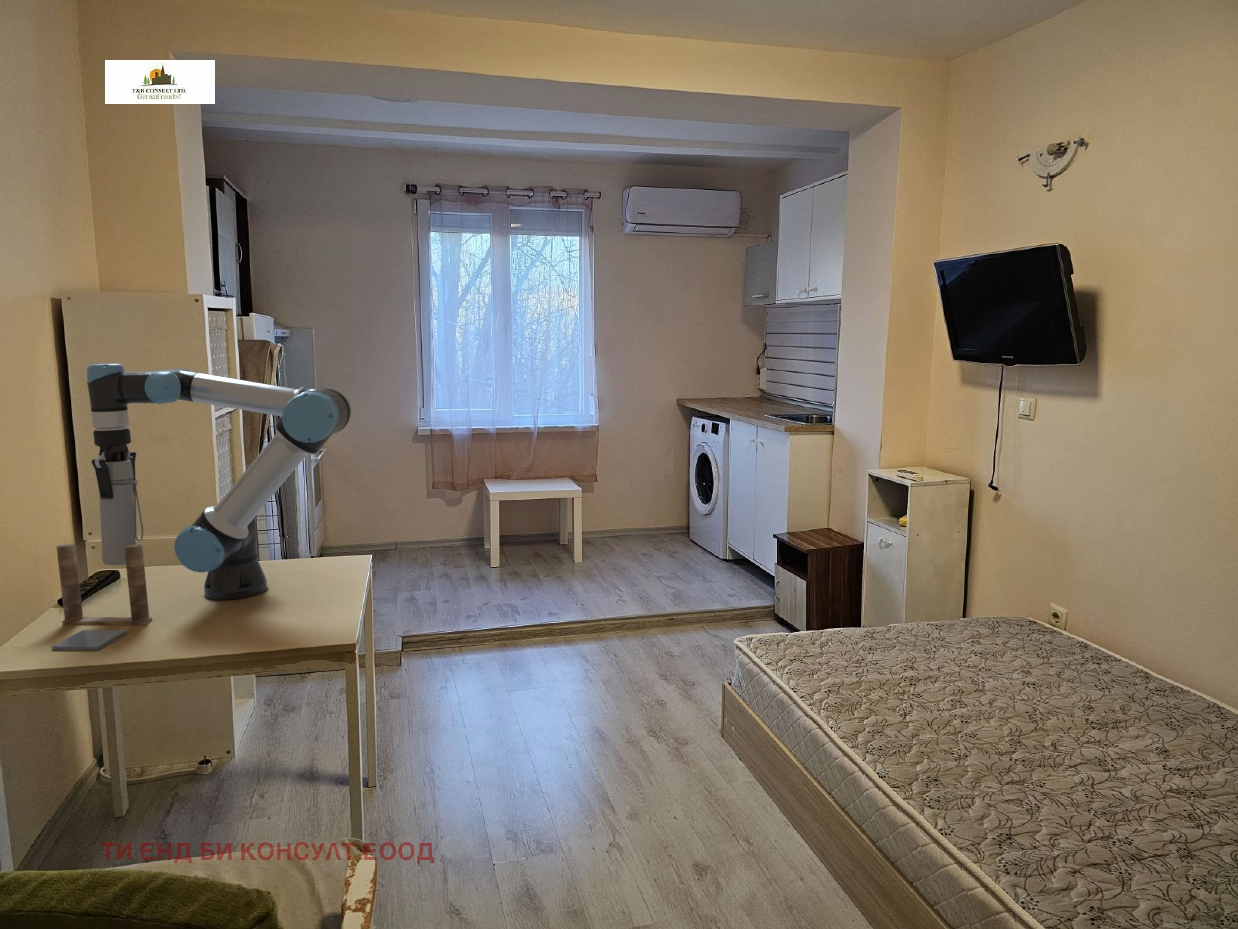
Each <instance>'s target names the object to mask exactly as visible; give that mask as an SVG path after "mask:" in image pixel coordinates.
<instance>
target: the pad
mask: <svg viewBox="0 0 1238 929" xmlns="http://www.w3.org/2000/svg"><path fill="white" fill-rule="evenodd" d="M125 635H127V630H126V629H82V630H80V631H78V632H76V633H75V634H73V635H71V636H69V637H67V638H65V639H64V640H61V641H60V642H57V643H56V644H54V645H53V646H51V650H52V651H89V652H90V651H91V652H92V651H94V652H95V651H97V652H98V651H100V650H102V649H103V648H105V647H106V646H108V645H110V644H111V643H113V642H115V641H117V640H118V639H120V638H122V637H123V636H125Z"/></svg>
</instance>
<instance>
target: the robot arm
mask: <svg viewBox="0 0 1238 929" xmlns="http://www.w3.org/2000/svg"><path fill="white" fill-rule="evenodd" d="M86 385H87V388H88V397H89V405H90V412H91V421H92V424H91V425H92V428H93V429H94V430H93V432H92V433H93V434H92V435H93V443H94V445H95V446H97V447H99V452H98V455H99V456H98V458H97V459H96V458H95V459H92V460H91V464H92V466H93V469H94V471H95V477H96V482H97V487H98V491H99V492H100V497H101V499H112V498H113V490H112V485H111V480H110V475H109V470H108V466H107V464H108V463H107V462H119V461H127V460H131V463H132V469H133V476H134V478H132V479H133V480H137V478H136V458H137V452H136V451H130V450H129V447H128V445H129V444H131V443H132V436H131V429H130V428H128V427H129V426H130V419H129V418H130V416H129V409H128V404H158V405H161V404H172V403H175V402H176V401H184V402H190V403H191V402H192V403H197V404H198V403H200V404H204V405H211V406H217V407H222V408H223V407H224V408H228V409H236V410H241V411H247V412H253V413H259V414H265V415H272V416H279V419H278V420H277V422H275V424H274V428H275V429H274V430H275V434H274V436H272V438H271V439H270V441H269V442H268V443H267V444H266V445H265V446H264V448H262V450H261V451H260V453H259V454H258V455H257V456H256V457H255V458H254V460H252V462H251V464H249V466H248V467H247V468H246V469H245V470H244V471H243V473H242V474H241V476H240V477H239V478H238V479H237V481H236V482H234V484H233V485H232V486H231V488H230V489H228V491H227V493H225V495H224V496H223V497H222V498H221V500H219V502H218V503H217V504H216V505H209V506H206V508H204V510H203V511H202V512H201V514H199V516H198V517H197V519H195V521H193V523H192V524H191V525H190V526H187V527H186V528H184V529H182V530H181V532H180V533H178V535H177V536H176V538H175V541H174V544H173V549H174V551H175V552H174V553H175V556H176V559H177V560H178V562H179V563H180V564H181V565H182V566H183V567H184V568H186V569H187V570H189V571H192V572H195V573H207V575H206V578H205V582H204V586H203V592H204V597H205V598H207V599H210V600H211V599H212V600H221V601H223V600H224V601H225V600H227V601H228V600H237V599H243V598H249V597H252V596H255V595H259V594H261V593H263V592H265V591H266V590H267V588H268V582H267V581H268V580H267V578H266V575H265V573H264V571H263V568H262V566H261V564H260V561H259V557H258V556H259V555H258V539H257V536H258V535H257V525H256V524H257V523H256V521H257V518H256V516H257V515H258V514H259V513H260V511H261V510H262V509H263V508H264V506H265V505H267V503H268V502H269V500H270V499H271V498H272V497H273V496H274V495H275V494H276V493H277V491H278V490H279V489H280V487H281V486H282V485H283V484H284V483H285V481H287V479H288V477H290V476H291V474H292V473H293V472H294V471H295V469H296V468H297V467H298V466H299V465H300V464H301V462H302V461H303V460H304V459H305V458H306V456H314V455H316V454H317V453H319V451H320V450H321V449H322V447H323V446H324V445H325V444H326V443H327V441H328V440H329V439H330V438H331V437H332V436H333V435H334V434H337V433H339V432H341V431H342V430H344V429H345V428H346V427H347V425H349V422H350V420H351V417H352V408H351V404H350V402H349V400H348V398H347V397H346V396H345V395H344V394H343V393H341V392H340V391H338V390H336V389H333V388H323V387H322V388H319V387H317V388H316V387H310V386H301V387H299V388H297V389H296V388H290V387H285V386H280V385H272V384H267V383H260V382H255V381H249V380H244V379H237V378H231V377H225V376H218V375H212V374H206V373H202V372H201V373H200V372H194V371H192V370H190V369H187V368H173V369H166V370H154V371H135V372H134V371H125V368H124V366H123V364H121V363H93V364H89V365H88V366H87V368H86ZM130 482H132V481H130ZM99 492H98V493H99ZM133 492H134V486H133Z"/></svg>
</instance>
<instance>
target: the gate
mask: <svg viewBox="0 0 1238 929" xmlns="http://www.w3.org/2000/svg"><path fill="white" fill-rule="evenodd" d="M76 548H77V547H76V544H75V543H64V544H59V545H57V546H56V553H57V561H58V564H57V565H58V571H59V580H60V589H61V598H62V606H63V616H64V620H62V621H61V622H62V625H75V626H77V625H80V626H81V625H83V626H84V625H85V626H88V625H89V626H90V625H91V626H146V625H147V624H149V623H150V622H152V621H153V617H150V610H149V602H148V592H147V591H148V590H147V579H146V569H145V560H144V548H143V544H140V543H139V544H138V543H136V544H133V545H128V546H125V547H124V548H125V558H126V564H125V568H126V575H127V576H126V577H127V586H128V587H127V588H128V597H129V607H130V616H131V617H130V616H129V617H126V616H125V617H121V616H115V617H114V616H113V617H109V616H84V611H83V604H82V596H81V588H80V585H81V584H80V575H79V568H78V560H77V550H76Z"/></svg>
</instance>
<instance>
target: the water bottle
mask: <svg viewBox="0 0 1238 929" xmlns="http://www.w3.org/2000/svg"><path fill="white" fill-rule="evenodd" d="M107 463H108V464H107V466H108V470H109V475H110V480H111V485H112V490H113V498H112V499H101V497H100V492H98V493H99V494H98V495H99V514H100V515H99V516H100V533H101V534H100V536H101V540H100V541H101V558H102V563H104V565H107V566H123V565H124V566H126V558H125V548H124V547H125V546H128V545H133V544H137V543H136V540H137V541H139V542H140V541H143V539H144V524H143V519H142V518H143V517H142V513H141V508H140V502H139V501H140V500H139V496H138V490H137V486H138V485H137V484H138V480H137V479H136V480H133V479H132V478H134V476H133V469H132V463H131V460H127V461H119V462H107ZM130 481H132V482H130ZM133 486H134V492H133ZM137 508H138V509H137ZM137 510H138V516H139V523H140V528H141V530H140V531H141V535H140V539H139V538H138V536H137V534H138V533H137Z"/></svg>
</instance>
